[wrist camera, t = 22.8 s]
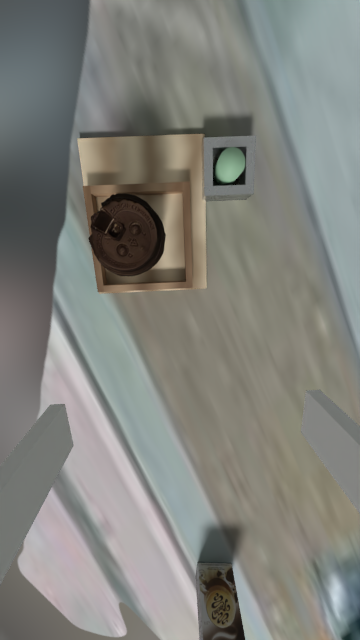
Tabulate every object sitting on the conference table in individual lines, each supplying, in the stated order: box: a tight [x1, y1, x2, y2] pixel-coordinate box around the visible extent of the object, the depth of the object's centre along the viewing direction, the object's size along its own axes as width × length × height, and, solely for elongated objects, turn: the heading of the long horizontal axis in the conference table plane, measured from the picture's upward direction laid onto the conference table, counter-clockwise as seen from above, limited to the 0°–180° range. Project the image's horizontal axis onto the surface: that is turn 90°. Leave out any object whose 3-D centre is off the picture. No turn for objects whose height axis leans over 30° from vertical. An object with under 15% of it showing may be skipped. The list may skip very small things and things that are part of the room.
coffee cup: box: [89, 193, 166, 276], centre depth 30 cm, size 9×8×13 cm
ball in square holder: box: [201, 136, 256, 201], centre depth 33 cm, size 7×7×4 cm
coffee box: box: [195, 563, 245, 640], centre depth 52 cm, size 9×6×16 cm
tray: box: [77, 134, 207, 294], centre depth 35 cm, size 18×22×3 cm
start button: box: [214, 147, 245, 186], centre depth 32 cm, size 4×4×4 cm
